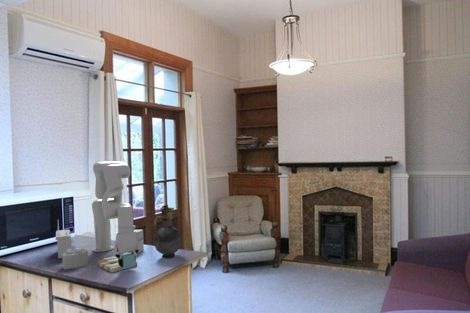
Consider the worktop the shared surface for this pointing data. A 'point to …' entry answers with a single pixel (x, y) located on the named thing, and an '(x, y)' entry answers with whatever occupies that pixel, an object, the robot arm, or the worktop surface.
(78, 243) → the worktop surface
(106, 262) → the ticket board
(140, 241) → the supplement box
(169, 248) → the pitcher
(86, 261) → the lumpy-topped squat cylinder
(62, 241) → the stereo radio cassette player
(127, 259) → the block
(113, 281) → the worktop surface
